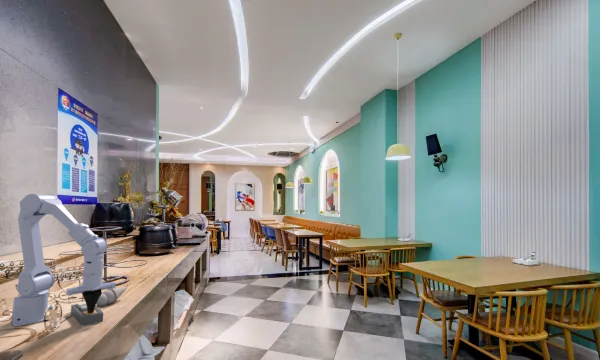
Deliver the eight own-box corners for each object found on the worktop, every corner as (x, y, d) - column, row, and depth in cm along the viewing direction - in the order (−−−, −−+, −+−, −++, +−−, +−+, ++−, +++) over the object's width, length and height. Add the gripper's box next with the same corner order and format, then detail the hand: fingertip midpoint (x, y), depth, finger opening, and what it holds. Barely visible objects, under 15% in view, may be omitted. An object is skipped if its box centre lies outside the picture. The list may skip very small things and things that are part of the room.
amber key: (85, 318, 112) (85, 314, 112) (82, 315, 114) (83, 312, 114) (97, 315, 114) (97, 312, 114) (94, 313, 117) (94, 309, 117)
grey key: (82, 311, 115) (82, 308, 115) (79, 309, 118) (80, 306, 118) (93, 309, 118) (94, 306, 118) (91, 307, 120) (91, 303, 120)
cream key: (78, 308, 119) (79, 305, 119) (76, 305, 121) (76, 302, 121) (90, 306, 121) (90, 303, 121) (87, 303, 124) (88, 300, 124)
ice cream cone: (129, 296, 142) (98, 313, 128) (120, 286, 144) (88, 302, 129) (135, 287, 141) (104, 302, 127) (126, 277, 142) (95, 291, 128)
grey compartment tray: (81, 326, 110) (81, 317, 110) (70, 313, 121) (71, 304, 121) (102, 321, 114) (103, 312, 114) (90, 309, 126) (91, 301, 126)
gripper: (70, 278, 107) (68, 320, 106) (119, 272, 117) (116, 310, 117) (66, 274, 112) (63, 314, 111) (113, 269, 122) (110, 305, 122)
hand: (90, 312), depth 114 cm, fingers closed, pressing on amber key
